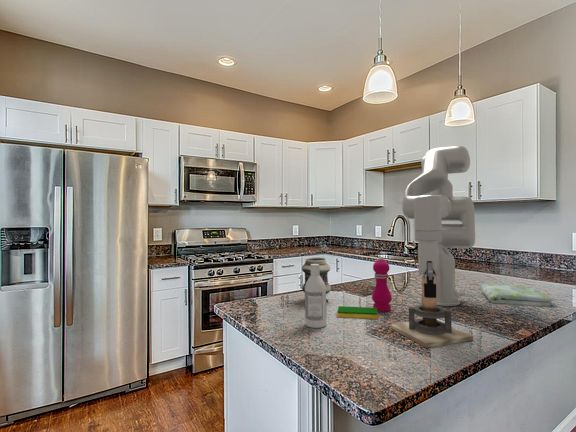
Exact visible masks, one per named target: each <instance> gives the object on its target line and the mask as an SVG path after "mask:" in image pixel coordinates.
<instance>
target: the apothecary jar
mask: <svg viewBox="0 0 576 432" xmlns="http://www.w3.org/2000/svg"><path fill="white" fill-rule="evenodd" d="M311 264H319V275H320V277H321V278H322V280H323V282H324V284H325V287H326V295H327V294H329V293H330V292H331V290H332V287H331V284H329V280H328V279H329V278H328V273H329V272H330V270H331V266H330V265H329V263H327V259H326V257H325V258H324V257H308V258H306V259H305V262H304V264H303V265H302V267H301V270H302V272H303V273H304V283H303V284H302V286H301V289H302V292H303V293H304V294H305V285H306V282H307V281H308V279H309V277H310V276H311V267H310V265H311ZM328 303H329V299H327V298H326V304H328Z"/></svg>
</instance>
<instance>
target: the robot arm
mask: <svg viewBox="0 0 576 432" xmlns="http://www.w3.org/2000/svg"><path fill="white" fill-rule="evenodd" d="M420 164H421V169H422V170H421V174H420V175H419V176H417V177H416V178H415V179H413V180H412V181H411V182H410V183H409V184H408V185H407V186H406V188H405V190H404V194H403V199H402V204H401V205H402V207H401V208H402V214H403V215H404V217H405V218H407V219H410V220H411V219H412V220H413V221H414V224H413V225H414V242H416V243H418V244H417V245H418V246H417V249H418V250H417V256H418V258H417V259H418V260H417V261H418V264H417V265H418V266H417V267H418V275H419V276H421V277H422V276H423V275H424V276H425V283H424V297H426V298H436V293H437V306H439V307H440V306H441V307H442V306H443V307H455V306H458V305H460V304H461V300H460V299H458V298H459V297H465V296H466V293H465V292H464V291H457V290H456V260H455V257H454V255H453V254H452V253H451V252H450V251H449V249H470V248H473V247H474V245H475V243H476V218H475V217H476V215H475V204H474V201H473V199H472V198H471V197H469V196H453V183H452V182H451V181H450V180H449V179H448V177H449V175H451V174H461V173H463V174H464V173H467V172H468V170H469V169H470V166H471V157H470V154H469V151H468V149H467V148H466V147H465V146H463V145H454V146H453V145H451V146H444V147H443V146H442V147H435V148H432V149H430V150H428V151H427V152H426V153H425V154H424V156H423V157H422V158H421V163H420ZM442 221H444V222H445V221H446V222H447V221H448V222H449V221H450V222H451V221H456V222H457V221H459V222H460V223H442ZM435 276H436V282H437V285H436V284H435Z"/></svg>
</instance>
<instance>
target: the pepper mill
mask: <svg viewBox="0 0 576 432" xmlns="http://www.w3.org/2000/svg"><path fill="white" fill-rule="evenodd" d="M372 270H373V272H374V278H375V286H374V289H373V291H372V294H371V300H372V301H373V305H372V308H377V312H389V311H391V304H390V303H391V302H392V300H393V298H392V293H391V291H390V289H389V287H388V278H389V271H390V265H389V263H388V262H387V261H386V260H385V261H384V257H383V256H379V257H378V260H377V261H375V262H373V265H372Z"/></svg>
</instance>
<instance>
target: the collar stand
mask: <svg viewBox="0 0 576 432" xmlns="http://www.w3.org/2000/svg"><path fill="white" fill-rule="evenodd" d="M415 315H416V316H418V317H421V318H418V319H415ZM422 317H425V318H436V319H437V327H429V326H424V325H422ZM442 318H444V322H443V321H440V320H438V319H442ZM452 322H453V321H452V310H451V309H450V308H449V309H448V308H443V307H442V306H441V307H440V306H439V305H437V312H427V311H422V304H419V305H416V306H408V322H401V323H399V322H398V323H395V324H393V323H392V324H390V329H391V330H393V331H395V332H396V333H398V334H400V335H403V336H404V337H406V338H407V339H409V340H411V341H413V342H414V343H416V344H419V345H420V346H422V347H423V348H427V349H428V348H434V347H440V346H446V345H452V344H457V343H458V344H459V343H464V342H471V341H474V335H471V334H470V333H468V332H465V331H463V330H460V329H458V328H455V327H453V326H452V325H453V323H452Z"/></svg>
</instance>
